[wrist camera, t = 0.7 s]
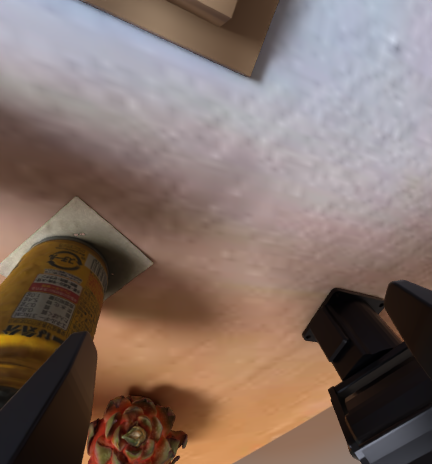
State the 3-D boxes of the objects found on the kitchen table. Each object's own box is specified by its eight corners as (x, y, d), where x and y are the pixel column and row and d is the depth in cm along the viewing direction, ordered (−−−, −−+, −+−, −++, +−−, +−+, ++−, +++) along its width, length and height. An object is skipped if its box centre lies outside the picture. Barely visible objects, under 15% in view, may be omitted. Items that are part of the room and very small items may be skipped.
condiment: (-6, 267, 21) (-171, 460, 11) (77, 194, 19) (-21, 336, 9) (78, 319, 24) (16, 504, 14) (153, 261, 23) (147, 418, 12)
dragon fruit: (126, 354, 29) (159, 402, 37) (44, 429, 25) (100, 466, 32) (181, 415, 24) (207, 456, 32) (90, 522, 20) (144, 541, 27)
